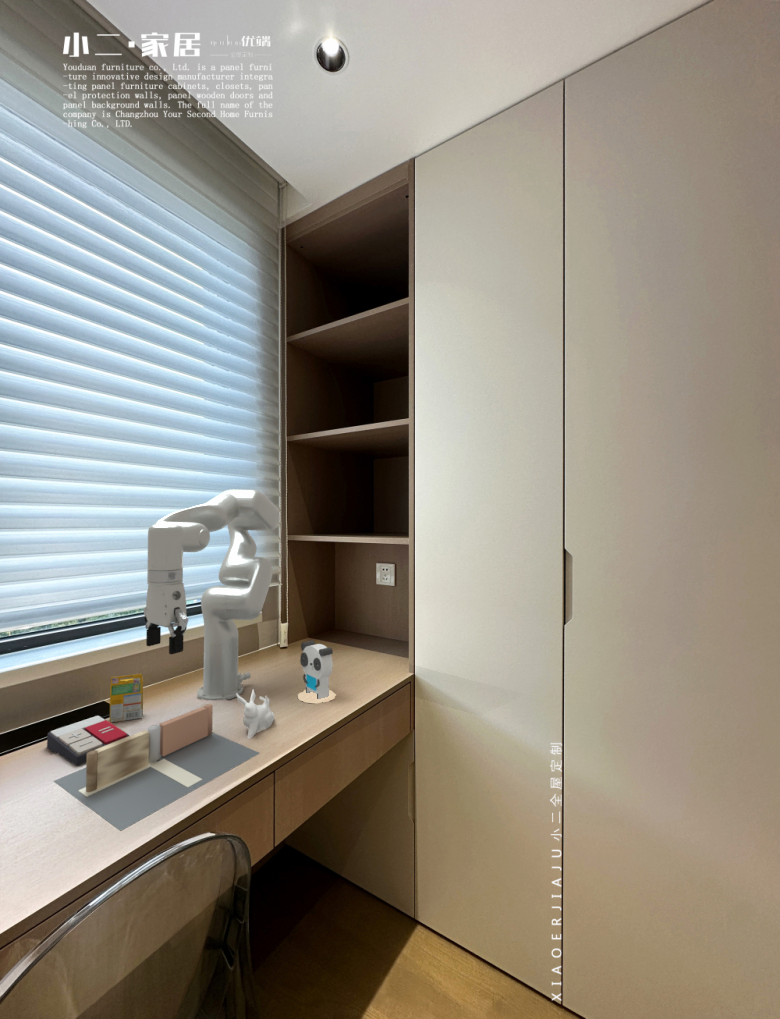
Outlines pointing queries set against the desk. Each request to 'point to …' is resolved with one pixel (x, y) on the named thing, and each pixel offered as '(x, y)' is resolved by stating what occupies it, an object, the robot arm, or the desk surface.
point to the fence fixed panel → (116, 760)
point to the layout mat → (158, 780)
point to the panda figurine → (316, 667)
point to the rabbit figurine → (256, 715)
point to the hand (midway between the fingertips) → (164, 648)
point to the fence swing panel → (179, 732)
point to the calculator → (83, 738)
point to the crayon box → (126, 698)
